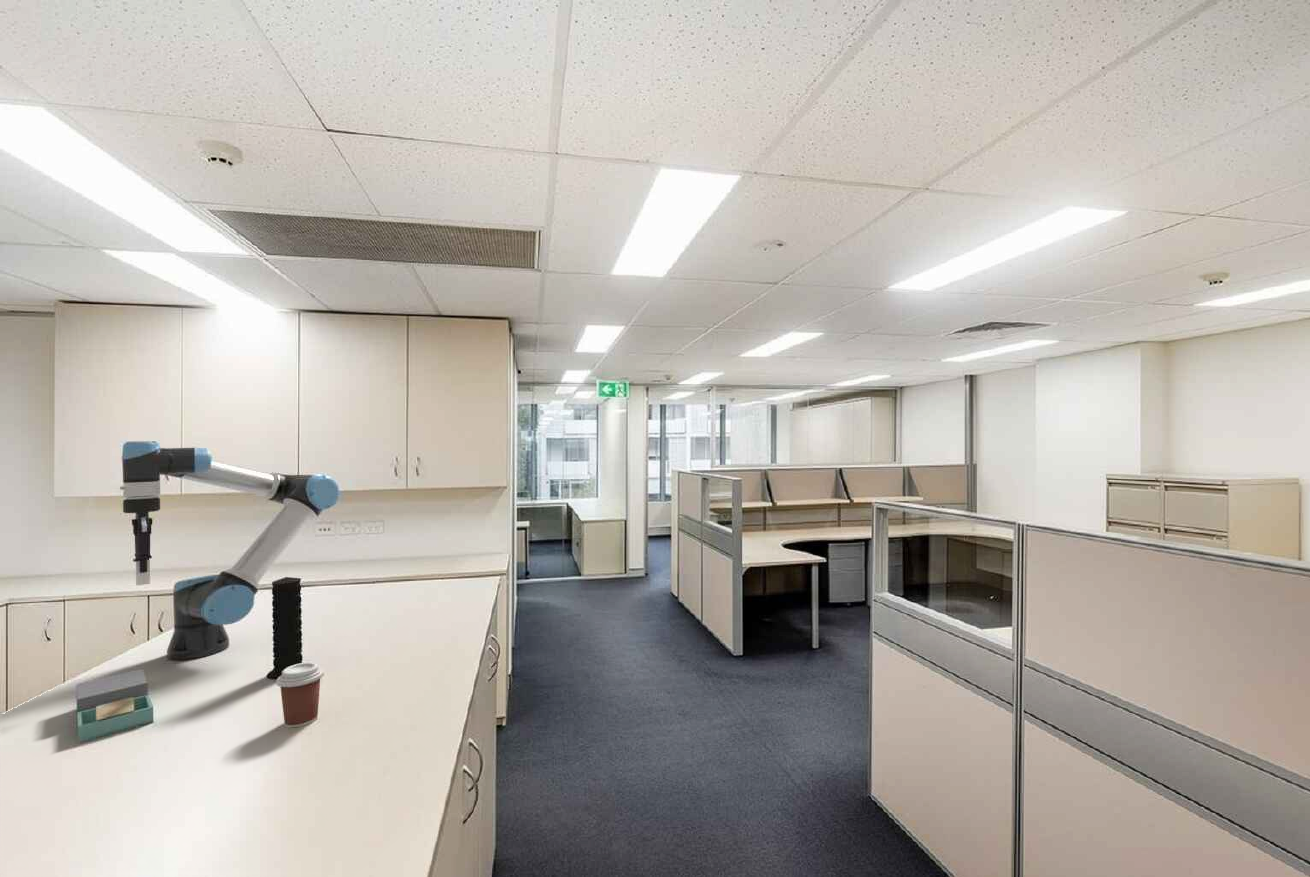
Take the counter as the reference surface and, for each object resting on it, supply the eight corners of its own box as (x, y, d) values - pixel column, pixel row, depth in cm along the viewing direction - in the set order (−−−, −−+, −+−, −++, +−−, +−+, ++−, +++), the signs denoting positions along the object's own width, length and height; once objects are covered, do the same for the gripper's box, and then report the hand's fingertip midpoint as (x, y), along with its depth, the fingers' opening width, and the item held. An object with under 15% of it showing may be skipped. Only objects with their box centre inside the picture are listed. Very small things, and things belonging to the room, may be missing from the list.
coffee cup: (333, 714, 131) (332, 662, 131) (297, 733, 122) (296, 678, 122) (304, 709, 134) (303, 658, 134) (267, 727, 125) (266, 673, 125)
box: (148, 709, 136) (148, 694, 136) (153, 722, 129) (153, 707, 129) (77, 728, 127) (77, 712, 127) (78, 743, 120) (78, 726, 121)
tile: (133, 696, 128) (134, 710, 127) (131, 705, 131) (132, 718, 130) (96, 706, 124) (96, 719, 123) (95, 715, 127) (96, 728, 126)
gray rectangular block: (142, 692, 146) (142, 669, 146) (148, 707, 137) (147, 682, 137) (76, 708, 137) (76, 684, 137) (77, 725, 128) (77, 699, 128)
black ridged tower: (257, 678, 153) (288, 680, 151) (255, 580, 154) (286, 581, 152) (287, 664, 163) (317, 666, 161) (286, 572, 163) (315, 573, 161)
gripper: (121, 497, 156) (122, 583, 155) (124, 499, 147) (126, 590, 146) (157, 495, 161) (158, 578, 161) (162, 497, 152) (164, 584, 152)
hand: (143, 584), depth 154 cm, fingers closed
